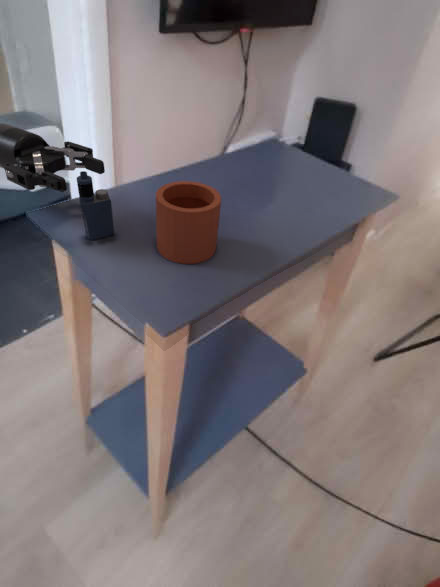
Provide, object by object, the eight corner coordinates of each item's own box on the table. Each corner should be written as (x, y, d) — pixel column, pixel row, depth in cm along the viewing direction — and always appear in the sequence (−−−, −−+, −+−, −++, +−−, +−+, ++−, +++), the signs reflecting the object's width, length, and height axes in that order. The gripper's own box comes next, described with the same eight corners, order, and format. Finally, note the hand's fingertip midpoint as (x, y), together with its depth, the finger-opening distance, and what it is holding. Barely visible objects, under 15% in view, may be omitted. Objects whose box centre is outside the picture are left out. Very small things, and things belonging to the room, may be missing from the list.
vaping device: (82, 234, 70) (72, 170, 62) (110, 227, 73) (104, 165, 65) (88, 241, 69) (78, 177, 61) (116, 234, 71) (110, 171, 63)
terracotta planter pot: (196, 271, 65) (199, 219, 59) (144, 249, 68) (142, 197, 62) (226, 243, 72) (232, 193, 66) (178, 224, 76) (179, 175, 69)
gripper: (-31, 138, 61) (45, 168, 56) (42, 118, 71) (112, 141, 66) (-16, 183, 66) (54, 214, 61) (50, 158, 76) (116, 183, 71)
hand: (84, 176), depth 63 cm, fingers open, 8 cm apart
